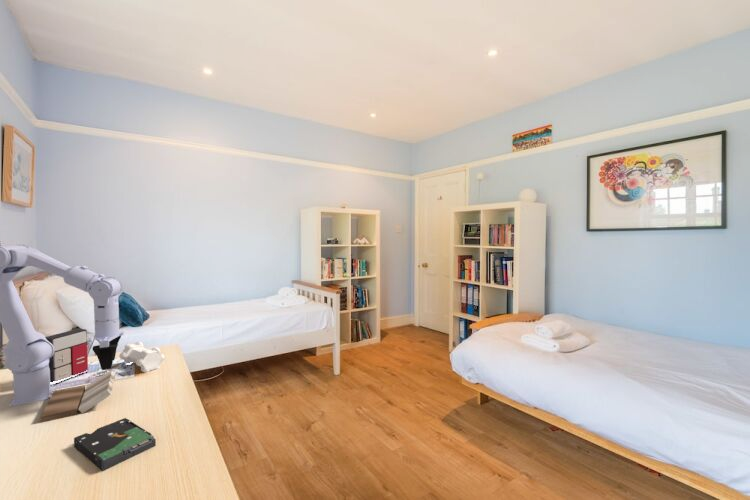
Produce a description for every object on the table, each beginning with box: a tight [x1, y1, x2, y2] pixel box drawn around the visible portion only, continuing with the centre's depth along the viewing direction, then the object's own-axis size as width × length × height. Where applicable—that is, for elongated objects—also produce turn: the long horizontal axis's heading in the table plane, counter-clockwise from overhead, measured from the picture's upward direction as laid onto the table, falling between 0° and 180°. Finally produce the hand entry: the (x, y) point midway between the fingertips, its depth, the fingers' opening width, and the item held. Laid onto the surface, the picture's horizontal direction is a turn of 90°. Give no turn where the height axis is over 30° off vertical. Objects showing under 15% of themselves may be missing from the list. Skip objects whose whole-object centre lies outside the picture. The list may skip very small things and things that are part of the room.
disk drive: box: [73, 417, 157, 472], centre depth 78 cm, size 10×3×15 cm
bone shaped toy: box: [118, 341, 165, 373], centre depth 123 cm, size 15×9×8 cm, turn 59°
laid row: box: [39, 385, 86, 424], centre depth 95 cm, size 17×7×2 cm, turn 34°
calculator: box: [45, 328, 89, 382], centre depth 112 cm, size 11×4×15 cm, turn 168°
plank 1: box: [83, 369, 116, 397], centre depth 102 cm, size 8×7×2 cm
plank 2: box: [78, 380, 114, 414], centre depth 95 cm, size 8×7×2 cm
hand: (108, 364), depth 103 cm, fingers open, 7 cm apart
